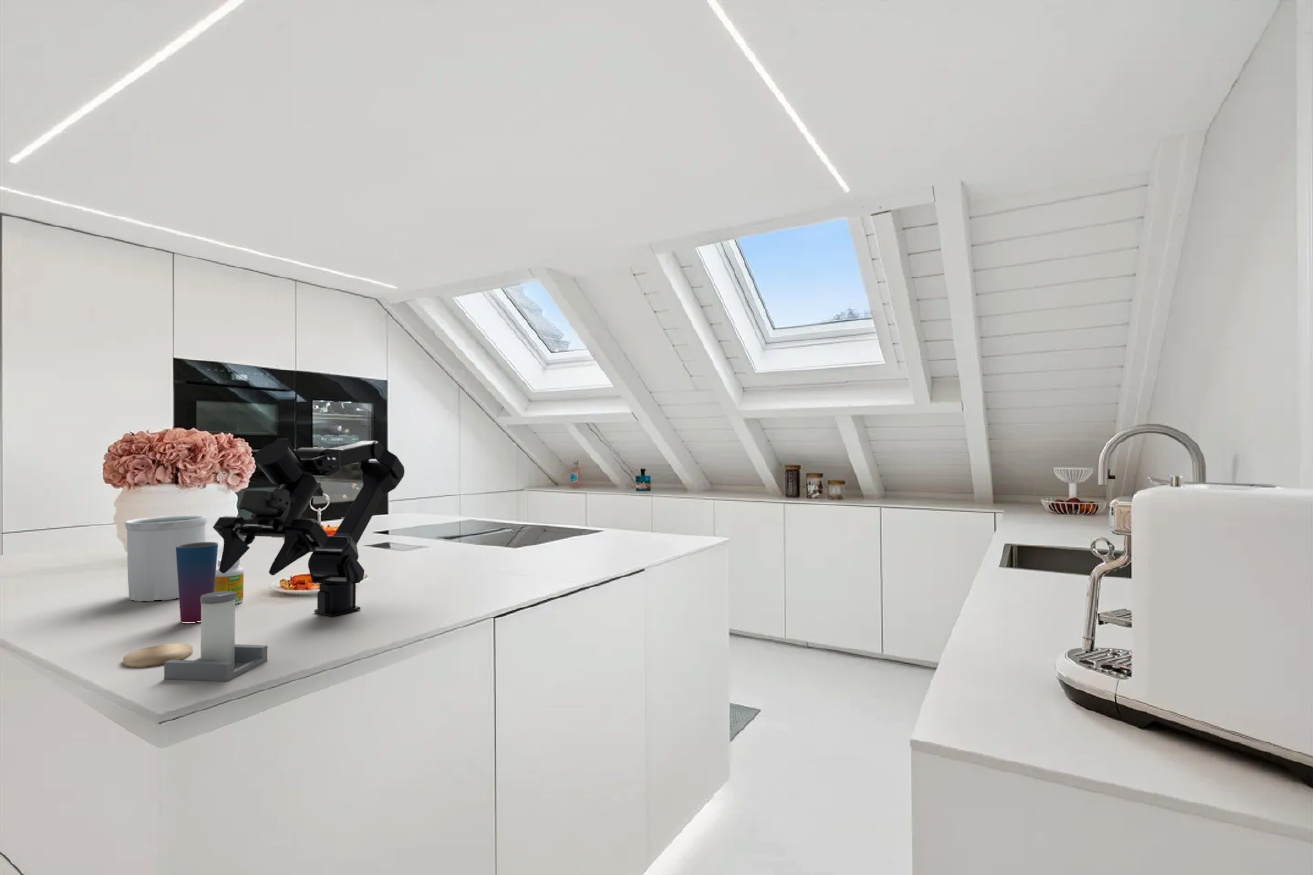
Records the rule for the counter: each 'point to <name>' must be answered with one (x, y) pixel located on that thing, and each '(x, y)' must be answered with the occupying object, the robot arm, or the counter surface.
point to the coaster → (157, 655)
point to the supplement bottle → (230, 581)
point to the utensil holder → (158, 553)
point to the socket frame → (216, 665)
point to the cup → (195, 576)
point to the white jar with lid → (218, 626)
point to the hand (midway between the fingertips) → (246, 573)
